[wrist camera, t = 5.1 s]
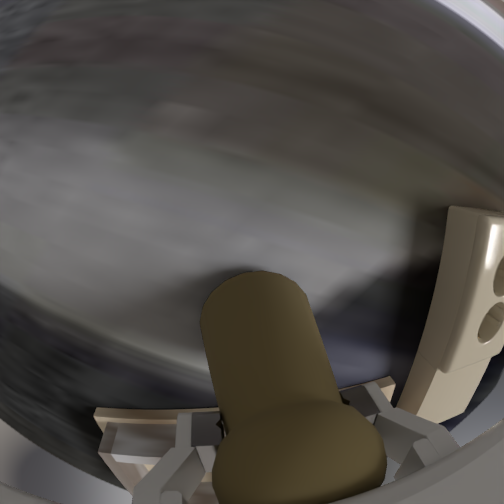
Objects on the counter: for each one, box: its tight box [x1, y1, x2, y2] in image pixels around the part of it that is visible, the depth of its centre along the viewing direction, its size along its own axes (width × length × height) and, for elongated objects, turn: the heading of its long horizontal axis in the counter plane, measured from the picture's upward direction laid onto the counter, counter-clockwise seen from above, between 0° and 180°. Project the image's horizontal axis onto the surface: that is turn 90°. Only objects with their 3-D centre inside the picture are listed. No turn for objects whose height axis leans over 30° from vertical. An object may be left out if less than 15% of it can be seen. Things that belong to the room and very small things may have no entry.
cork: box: [200, 271, 387, 504], centre depth 10 cm, size 6×6×11 cm
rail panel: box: [93, 376, 395, 504], centre depth 18 cm, size 22×11×4 cm, turn 94°
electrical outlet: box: [396, 206, 504, 424], centre depth 17 cm, size 7×4×18 cm
